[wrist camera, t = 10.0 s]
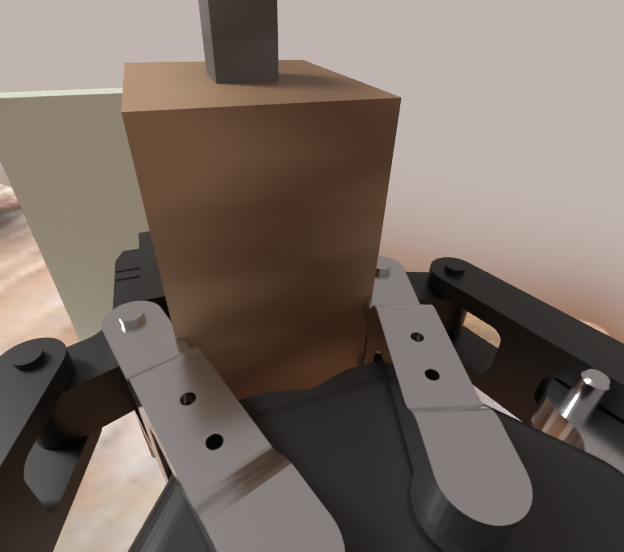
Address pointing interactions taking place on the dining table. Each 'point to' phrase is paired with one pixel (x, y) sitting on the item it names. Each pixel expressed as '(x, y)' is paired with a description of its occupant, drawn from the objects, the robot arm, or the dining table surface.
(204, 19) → the knob board
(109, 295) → the cleat board
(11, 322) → the dining table surface
